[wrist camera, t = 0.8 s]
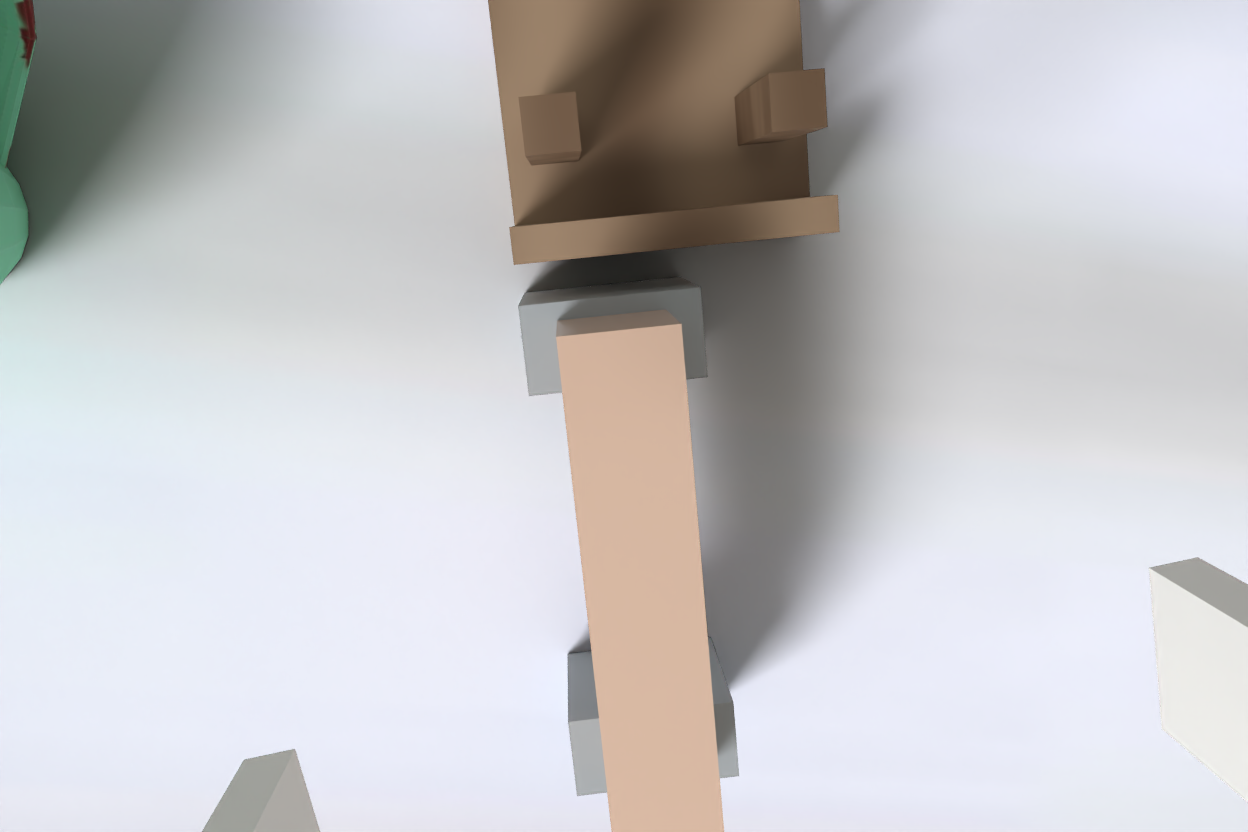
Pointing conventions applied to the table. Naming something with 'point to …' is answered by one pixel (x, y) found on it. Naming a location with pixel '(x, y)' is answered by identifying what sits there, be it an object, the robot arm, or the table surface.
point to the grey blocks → (544, 378)
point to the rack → (656, 124)
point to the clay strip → (642, 568)
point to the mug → (13, 123)
